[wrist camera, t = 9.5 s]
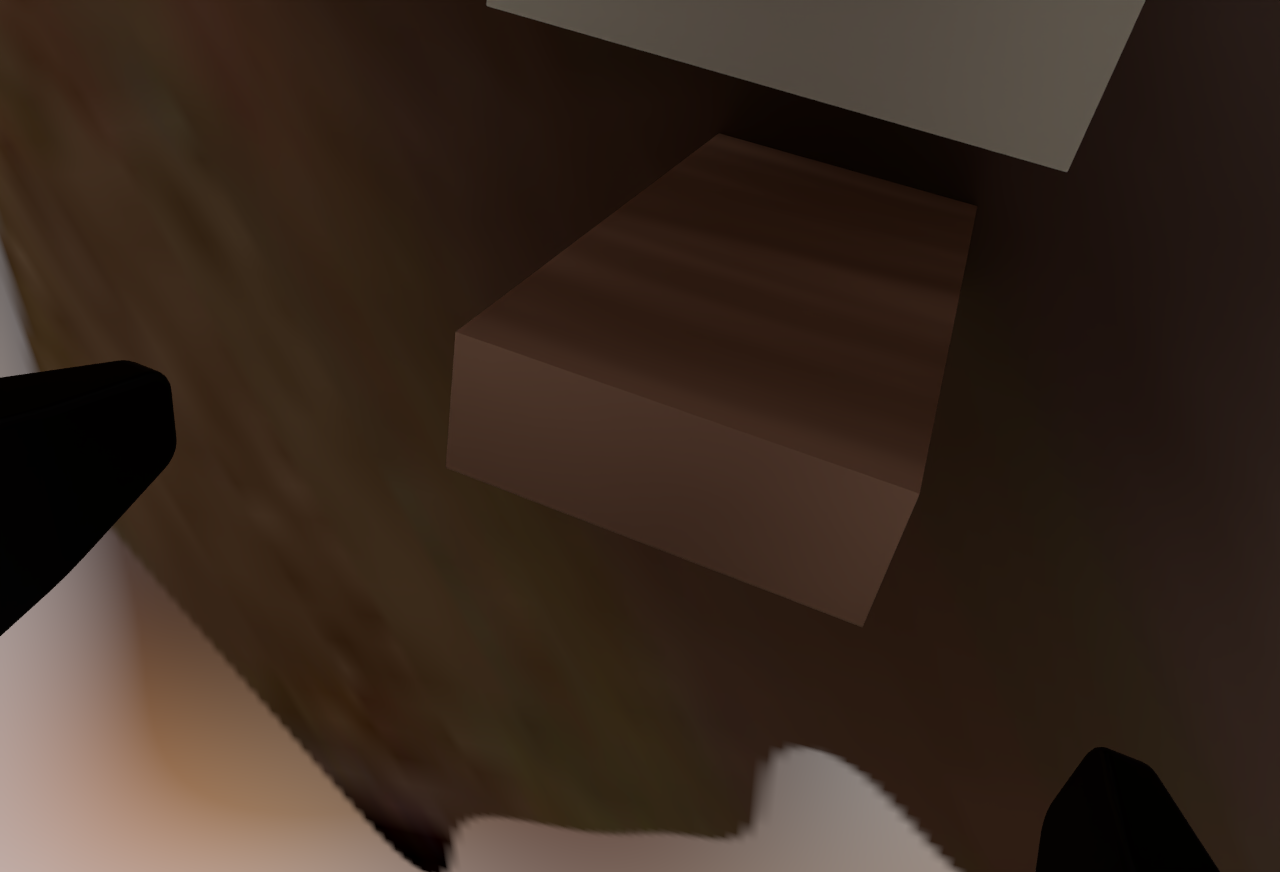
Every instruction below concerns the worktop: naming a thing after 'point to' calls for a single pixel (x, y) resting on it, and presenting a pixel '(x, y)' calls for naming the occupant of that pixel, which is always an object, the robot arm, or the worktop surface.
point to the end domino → (729, 370)
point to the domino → (893, 57)
